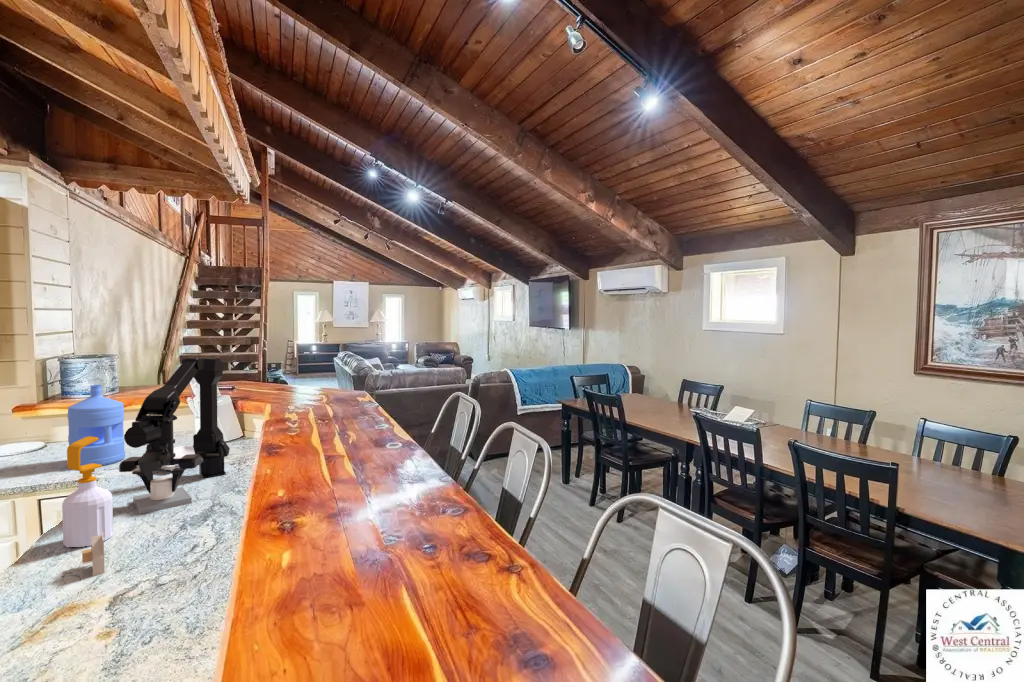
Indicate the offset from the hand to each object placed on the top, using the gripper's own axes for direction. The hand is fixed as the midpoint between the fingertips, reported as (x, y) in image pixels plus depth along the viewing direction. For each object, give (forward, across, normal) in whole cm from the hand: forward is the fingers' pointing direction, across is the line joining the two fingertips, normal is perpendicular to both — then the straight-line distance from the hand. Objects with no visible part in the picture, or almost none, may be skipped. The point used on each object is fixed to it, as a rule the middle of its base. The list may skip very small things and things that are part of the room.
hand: (162, 492), depth 141 cm
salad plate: (+4, -12, +42) cm, 44 cm away
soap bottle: (+3, -6, -23) cm, 24 cm away
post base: (+3, 0, 0) cm, 3 cm away
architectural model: (+4, +4, -39) cm, 40 cm away
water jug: (+3, -40, +48) cm, 63 cm away
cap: (+1, 0, 0) cm, 1 cm away
